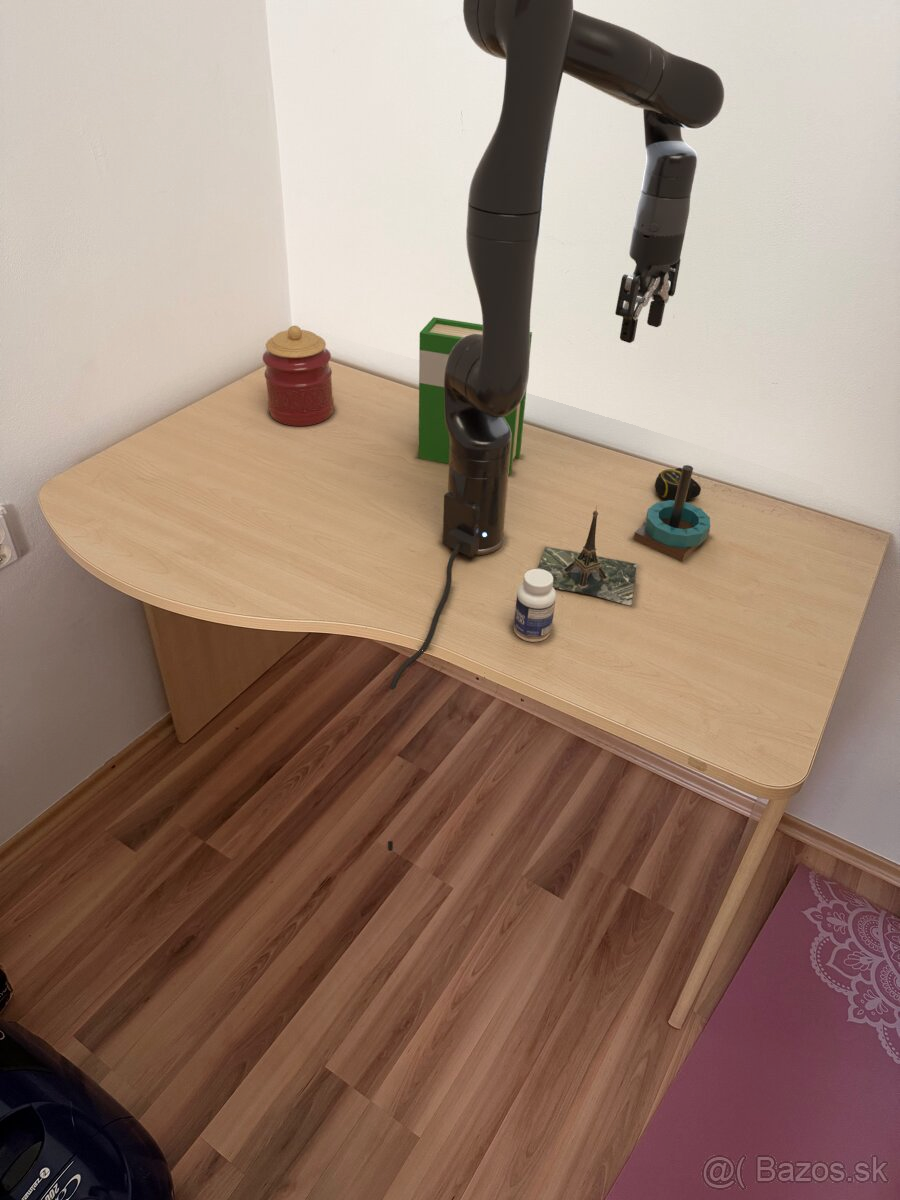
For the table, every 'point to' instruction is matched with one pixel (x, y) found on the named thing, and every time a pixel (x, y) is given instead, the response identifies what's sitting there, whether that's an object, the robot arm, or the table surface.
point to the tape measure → (674, 485)
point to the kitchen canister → (298, 378)
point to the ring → (677, 535)
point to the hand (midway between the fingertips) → (640, 333)
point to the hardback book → (432, 363)
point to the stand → (672, 521)
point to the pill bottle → (535, 606)
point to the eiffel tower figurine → (590, 571)
